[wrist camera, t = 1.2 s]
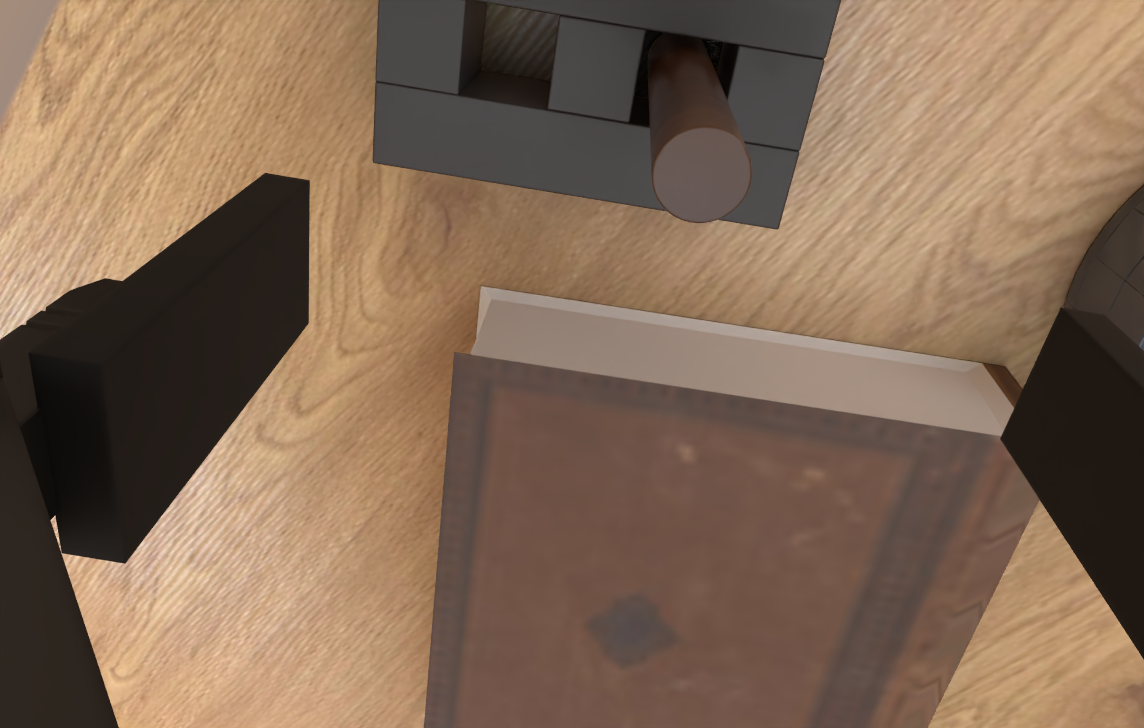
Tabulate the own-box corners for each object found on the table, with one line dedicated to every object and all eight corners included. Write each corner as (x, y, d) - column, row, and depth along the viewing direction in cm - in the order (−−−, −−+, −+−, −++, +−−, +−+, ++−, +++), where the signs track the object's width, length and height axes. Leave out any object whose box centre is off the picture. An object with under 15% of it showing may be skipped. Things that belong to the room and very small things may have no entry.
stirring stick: (653, 24, 35) (662, 118, 21) (713, 34, 35) (763, 134, 21) (642, 86, 36) (643, 215, 22) (700, 95, 36) (739, 231, 22)
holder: (416, -115, 33) (382, -115, 28) (823, -46, 33) (851, -36, 29) (403, 130, 37) (372, 163, 33) (762, 189, 37) (778, 230, 33)
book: (1005, 366, 40) (1065, 445, 35) (836, 762, 54) (859, 866, 48) (481, 286, 40) (454, 352, 35) (441, 702, 54) (418, 799, 48)
